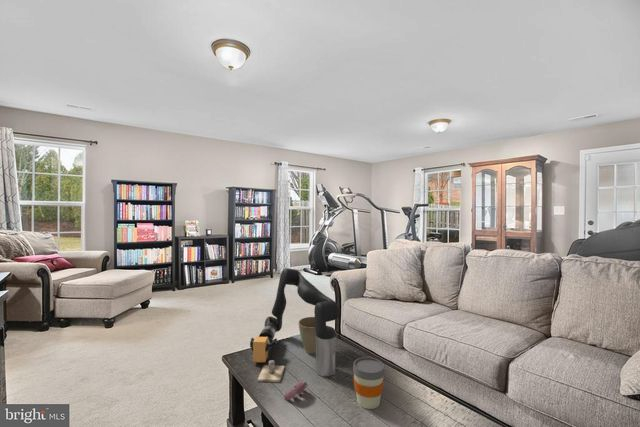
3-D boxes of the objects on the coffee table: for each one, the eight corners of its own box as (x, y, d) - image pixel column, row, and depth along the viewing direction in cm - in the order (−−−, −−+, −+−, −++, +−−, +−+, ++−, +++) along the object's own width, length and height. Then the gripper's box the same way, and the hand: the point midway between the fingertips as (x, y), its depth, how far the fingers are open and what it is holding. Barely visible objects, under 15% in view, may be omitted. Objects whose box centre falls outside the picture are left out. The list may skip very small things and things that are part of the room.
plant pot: (297, 345, 170) (297, 317, 170) (323, 344, 171) (324, 316, 171) (298, 358, 155) (299, 327, 155) (327, 357, 157) (327, 326, 156)
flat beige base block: (284, 367, 146) (284, 355, 146) (279, 382, 134) (279, 368, 134) (264, 367, 146) (264, 354, 146) (257, 381, 134) (257, 368, 134)
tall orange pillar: (267, 356, 154) (267, 336, 154) (265, 362, 148) (265, 342, 148) (256, 356, 154) (256, 336, 154) (253, 362, 148) (253, 341, 148)
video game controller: (289, 406, 120) (295, 394, 118) (282, 397, 122) (287, 385, 120) (305, 394, 128) (311, 382, 126) (298, 386, 130) (303, 374, 128)
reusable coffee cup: (351, 391, 127) (351, 356, 127) (381, 392, 127) (381, 357, 127) (354, 411, 115) (354, 372, 115) (387, 412, 114) (387, 373, 114)
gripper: (254, 328, 166) (245, 341, 149) (280, 328, 165) (273, 342, 148) (254, 341, 166) (245, 356, 149) (280, 342, 165) (273, 357, 148)
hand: (259, 349), depth 149 cm, fingers closed on tall orange pillar, 6 cm apart
